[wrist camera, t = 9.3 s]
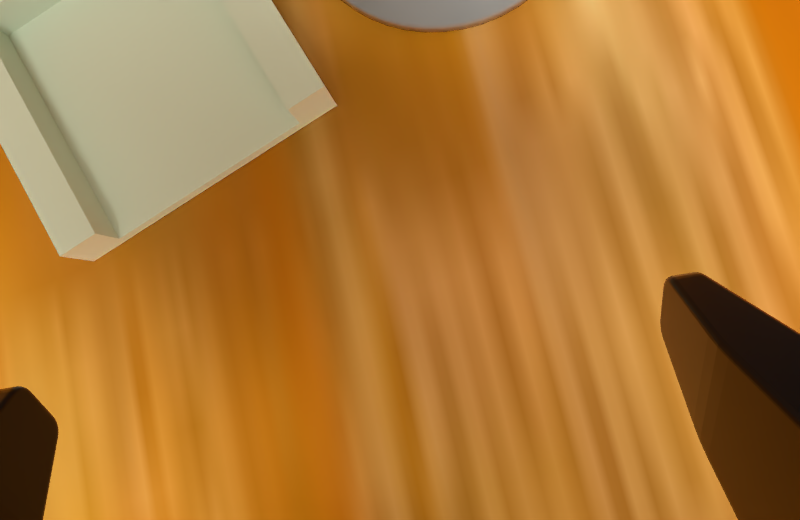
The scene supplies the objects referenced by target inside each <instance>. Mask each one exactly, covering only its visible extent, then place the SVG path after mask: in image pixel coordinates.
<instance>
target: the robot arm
mask: <svg viewBox="0 0 800 520" xmlns="http://www.w3.org/2000/svg"><path fill="white" fill-rule="evenodd" d="M660 324H661V332H662V336H663V339H664V342H665V345H666V348H667V350H668V353H669V356H670V359H671V362H672V365H673V367H674V370H675V373H676V376H677V379H678V382H679V384H680V387H681V390H682V393H683V396H684V399H685V401H686V404H687V407H688V410H689V413H690V416H691V418H692V421H693V424H694V427H695V429H696V432H697V435H698V437H699V440H700V442H701V444H702V447H703V449H704V451H705V453H706V455H707V458H708V460H709V462H710V464H711V466H712V468H713V470H714V472H715V474H716V476H717V478H718V480H719V482H720V484H721V486H722V488H723V490H724V492H725V494H726V496H727V498H728V500H729V502H730V504H731V506H732V508H733V510H734V512H735V514H736V516H737V518H738V520H800V333H798V332H796V331H795V330H793V329H791V328H790V327H788V326H787V325H785V324H783V323H782V322H780V321H779V320H777V319H775V318H774V317H772V316H770V315H769V314H767V313H766V312H764V311H762V310H761V309H759V308H758V307H756V306H754V305H753V304H751V303H749V302H748V301H746V300H745V299H743V298H741V297H740V296H738V295H736V294H735V293H733V292H732V291H730V290H728V289H727V288H725V287H724V286H722V285H720V284H719V283H717V282H715V281H714V280H712V279H711V278H709V277H707V276H706V275H704V274H702V273H699V272H693V273H687V274H681V275H675V276H671V277H669V278H667V279H666V281H665V283H664V289H663V299H662V309H661V319H660ZM57 439H58V426H57V422H56V420H55V418H54V417H53V416H52V415H51V414H50V412H49V411H48V410H47V409H46V408H45V407H44V406H43V405H42V404H41V403H40V401H39V400H38V399H37V398H36V397H35V396H34V395H33V394H32V393H31V392H30V391H29V390H28V389H26V388H24V387H19V386H17V387H11V388H5V389H0V520H43V516H44V510H45V505H46V499H47V494H48V488H49V483H50V477H51V472H52V466H53V461H54V455H55V450H56V444H57Z"/></svg>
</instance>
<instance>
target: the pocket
mask: <svg viewBox="0 0 800 520" xmlns="http://www.w3.org/2000/svg"><path fill="white" fill-rule="evenodd" d="M336 106H337V105H336V103H335V101H334V100H333V98H332V97H331V95H330V93H329V92H328V90H327V88H326V87H325V85H324V84H323V82H322V80H321V79H320V77H319V76H318V74H317V72H316V71H315V69H314V68H313V66H312V64H311V63H310V61H309V60H308V58H307V56H306V55H305V53H304V52H303V50H302V48H301V47H300V45H299V44H298V42H297V40H296V39H295V37H294V36H293V34H292V32H291V31H290V29H289V28H288V26H287V24H286V23H285V21H284V19H283V18H282V16H281V15H280V13H279V11H278V10H277V8H276V7H275V5H274V3H273V2H272V0H0V144H1V146H2V148H3V150H4V152H5V154H6V155H7V157H8V159H9V161H10V163H11V165H12V167H13V169H14V171H15V173H16V174H17V176H18V178H19V180H20V182H21V184H22V186H23V188H24V190H25V191H26V193H27V195H28V197H29V199H30V201H31V203H32V205H33V207H34V208H35V210H36V212H37V214H38V216H39V218H40V220H41V222H42V224H43V225H44V227H45V229H46V231H47V233H48V235H49V237H50V239H51V241H52V242H53V244H54V246H55V248H56V250H57V252H58V254H59V256H61V257H68V258H75V259H82V260H89V261H95V260H97V259H98V258H100V257H102V256H103V255H105V254H106V253H108V252H109V251H111V250H113V249H114V248H116V247H117V246H119V245H120V244H122V243H123V242H125V241H127V240H128V239H130V238H131V237H133V236H134V235H136V234H137V233H139V232H141V231H142V230H144V229H145V228H147V227H148V226H150V225H152V224H153V223H155V222H156V221H158V220H159V219H161V218H162V217H164V216H166V215H167V214H169V213H170V212H172V211H173V210H175V209H176V208H178V207H180V206H181V205H183V204H184V203H186V202H187V201H189V200H191V199H192V198H194V197H195V196H197V195H198V194H200V193H201V192H203V191H205V190H206V189H208V188H209V187H211V186H212V185H214V184H215V183H217V182H219V181H220V180H222V179H223V178H225V177H226V176H228V175H230V174H231V173H233V172H234V171H236V170H237V169H239V168H240V167H242V166H244V165H245V164H247V163H248V162H250V161H251V160H253V159H254V158H256V157H258V156H259V155H261V154H262V153H264V152H265V151H267V150H269V149H270V148H272V147H273V146H275V145H276V144H278V143H279V142H281V141H283V140H284V139H286V138H287V137H289V136H290V135H292V134H293V133H295V132H297V131H298V130H300V129H301V128H303V127H304V126H306V125H308V124H309V123H311V122H312V121H314V120H315V119H317V118H318V117H320V116H322V115H323V114H325V113H326V112H328V111H329V110H331V109H332V108H334V107H336Z"/></svg>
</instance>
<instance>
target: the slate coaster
mask: <svg viewBox="0 0 800 520" xmlns="http://www.w3.org/2000/svg"><path fill="white" fill-rule="evenodd" d="M342 1H343V2H344V3H346V4H347V5H348V6H350V7H351V8H352V9H354V10H355V11H357V12H359V13H361V14H362V15H364V16H366V17H368V18H370V19H372V20H375V21H377V22H380V23H382V24H385V25H387V26H391V27H395V28H399V29H403V30H410V31H418V32H447V31H454V30H461V29H466V28H470V27H473V26H477V25H481V24H484V23H486V22H489V21H491V20H494V19H496V18H499V17H501V16H503V15H505V14H506V13H508V12H510V11H512V10H514V9H515V8H517V7H519V6H520V5H521V4H523V3H524V2H526V1H527V0H342Z"/></svg>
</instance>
